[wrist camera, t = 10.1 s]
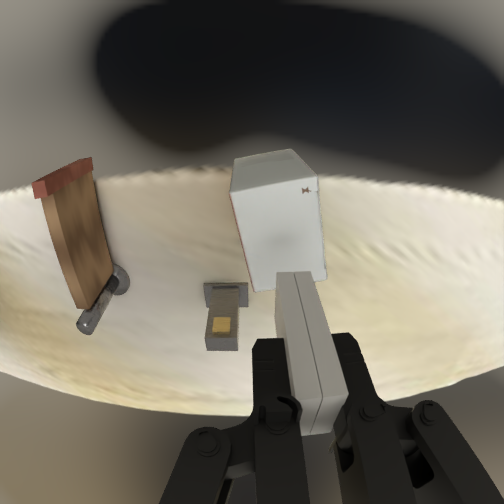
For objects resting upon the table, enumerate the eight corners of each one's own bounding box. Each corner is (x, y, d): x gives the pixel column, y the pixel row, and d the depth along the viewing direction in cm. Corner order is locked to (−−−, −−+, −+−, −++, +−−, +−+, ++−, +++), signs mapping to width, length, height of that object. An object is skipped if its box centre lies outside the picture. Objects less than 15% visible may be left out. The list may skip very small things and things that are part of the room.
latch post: (207, 304, 34) (198, 358, 27) (204, 282, 33) (193, 335, 25) (248, 304, 34) (248, 358, 27) (247, 281, 33) (248, 335, 25)
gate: (115, 268, 31) (86, 314, 24) (101, 268, 31) (70, 313, 24) (91, 157, 25) (44, 180, 17) (76, 160, 25) (28, 183, 17)
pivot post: (103, 292, 33) (76, 340, 26) (94, 263, 31) (60, 309, 23) (133, 293, 33) (108, 345, 26) (124, 263, 31) (94, 312, 23)
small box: (233, 157, 26) (226, 189, 17) (292, 147, 26) (318, 172, 16) (250, 232, 30) (252, 295, 21) (303, 223, 29) (328, 282, 20)
